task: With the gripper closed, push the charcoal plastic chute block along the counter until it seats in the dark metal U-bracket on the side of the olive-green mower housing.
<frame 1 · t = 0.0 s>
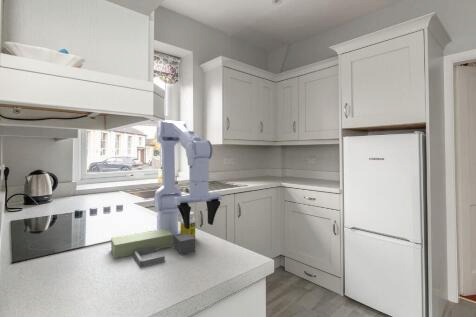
hand: (199, 226, 76), 10 cm above the counter, tool pointing down, fingers open, 7 cm apart
chute block: (184, 250, 83), on the counter
supplement bottle: (188, 239, 93), on the counter
mower housing: (150, 257, 77), on the counter
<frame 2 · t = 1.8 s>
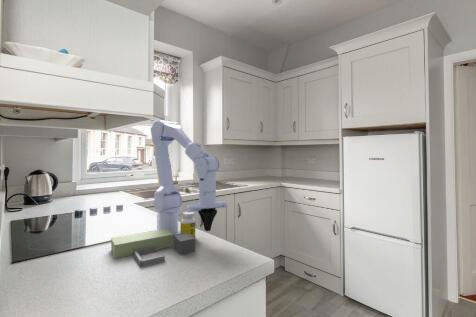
hand: (207, 230, 87), 5 cm above the counter, tool pointing down, fingers closed
nothing on the counter moved.
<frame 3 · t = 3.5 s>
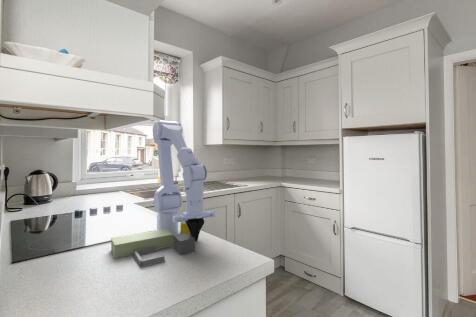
hand: (194, 240, 85), 2 cm above the counter, tool pointing down, fingers closed
chute block: (184, 250, 83), on the counter, touching gripper
everything else where it was.
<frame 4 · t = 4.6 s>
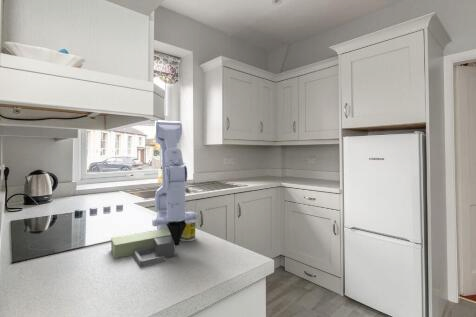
hand: (176, 244, 81), 2 cm above the counter, tool pointing down, fingers closed
chute block: (164, 254, 79), on the counter, touching gripper
everything else where it was.
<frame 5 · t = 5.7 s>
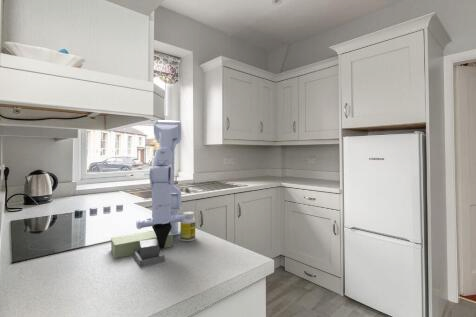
hand: (161, 247, 79), 2 cm above the counter, tool pointing down, fingers closed
chute block: (149, 257, 77), on the counter, touching gripper, mower housing
everything else where it was.
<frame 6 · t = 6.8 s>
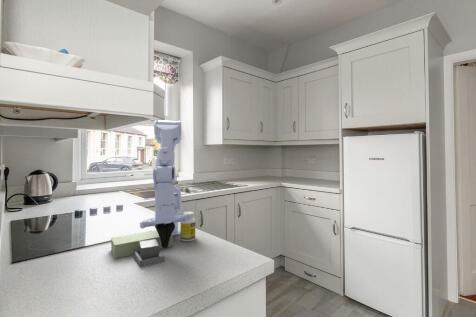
hand: (164, 247, 79), 2 cm above the counter, tool pointing down, fingers closed
chute block: (148, 257, 77), on the counter
everything else where it was.
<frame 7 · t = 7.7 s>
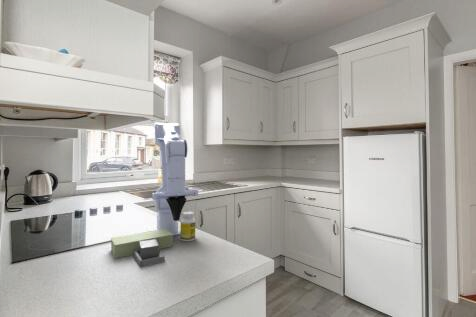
hand: (176, 220, 81), 10 cm above the counter, tool pointing down, fingers closed
nothing on the counter moved.
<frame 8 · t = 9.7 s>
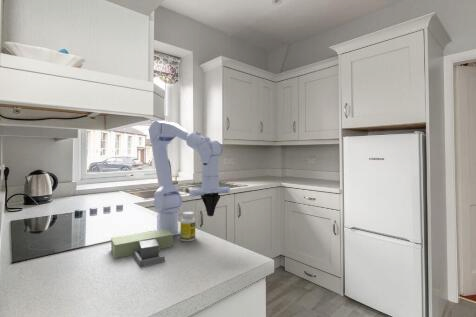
hand: (210, 215, 87), 10 cm above the counter, tool pointing down, fingers closed
nothing on the counter moved.
at the end: chute block 0.5 cm off-centre on the mower housing, point 0.0 cm above the mower housing's base; chute block tilted 0°; chute block moved 11.2 cm from its start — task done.
